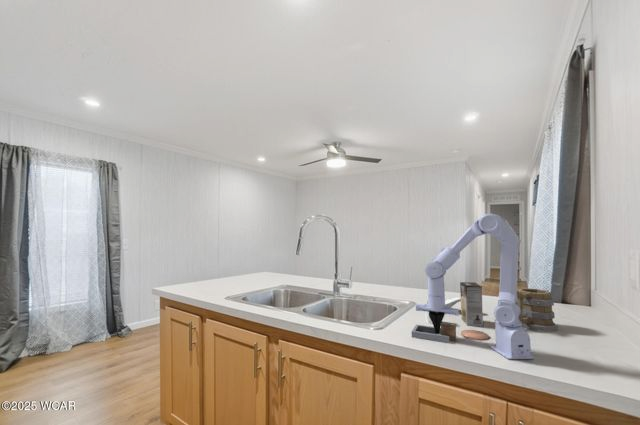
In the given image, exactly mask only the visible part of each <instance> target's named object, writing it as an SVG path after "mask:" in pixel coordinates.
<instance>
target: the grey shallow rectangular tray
mask: <svg viewBox="0 0 640 425" xmlns="http://www.w3.org/2000/svg"><path fill="white" fill-rule="evenodd" d="M414 337H416V338H415V339H420V340H428V341H433V342H440V343H441V342H442V343H446V344H450V341H449V336H445V335H441V327H440V333H439V334H436V333H435V329H434V326H431V325H430V326H429V325H424V324H415V326H414V327H413V329H412V330H411V338H414Z"/></svg>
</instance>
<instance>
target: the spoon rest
mask: <svg viewBox="0 0 640 425" xmlns="http://www.w3.org/2000/svg"><path fill="white" fill-rule="evenodd" d="M459 302H461V296H457V297H453V298H448V299H446V298H445V307H450V308H453V306H454V305H456V304H458V303H459ZM425 304H428V301H426V302H425Z"/></svg>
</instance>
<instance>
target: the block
mask: <svg viewBox="0 0 640 425" xmlns="http://www.w3.org/2000/svg"><path fill="white" fill-rule="evenodd" d="M440 328H441V334H440V335H445V336H449V342H456V340H457V329H456V328H457V325H456V324H451V323H444V322H442V323H441V326H440Z"/></svg>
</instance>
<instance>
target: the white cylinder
mask: <svg viewBox="0 0 640 425" xmlns="http://www.w3.org/2000/svg"><path fill="white" fill-rule="evenodd" d="M424 305H428V304H426V303H425V304H424ZM424 314H425V315H424V317H425V323H427V324H429V325H433V323H432V321H431V319H430V317H429V312H427V311H424Z"/></svg>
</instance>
